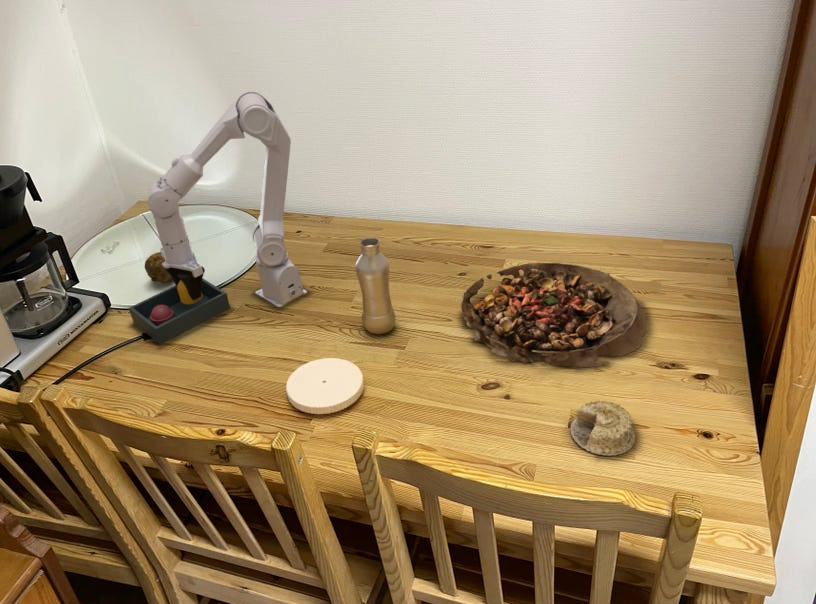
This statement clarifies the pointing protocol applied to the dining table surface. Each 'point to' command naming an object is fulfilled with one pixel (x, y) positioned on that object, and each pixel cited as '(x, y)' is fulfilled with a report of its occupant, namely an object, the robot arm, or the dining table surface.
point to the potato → (156, 268)
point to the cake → (603, 428)
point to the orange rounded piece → (186, 294)
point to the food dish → (556, 315)
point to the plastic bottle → (375, 287)
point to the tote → (179, 311)
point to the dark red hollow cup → (161, 314)
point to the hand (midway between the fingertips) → (190, 293)
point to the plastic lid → (325, 385)
